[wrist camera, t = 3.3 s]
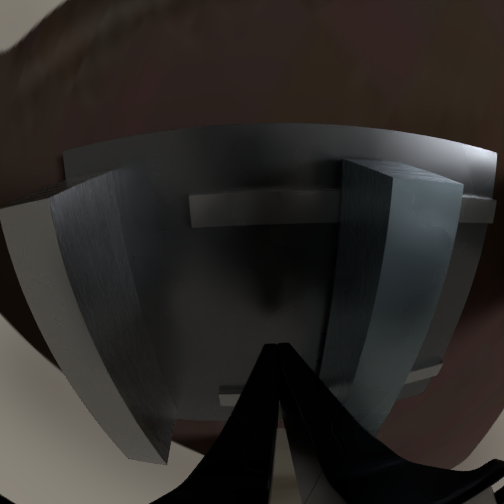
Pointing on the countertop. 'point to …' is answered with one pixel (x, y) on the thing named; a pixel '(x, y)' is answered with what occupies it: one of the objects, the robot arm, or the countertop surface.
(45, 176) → the countertop surface
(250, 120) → the countertop surface
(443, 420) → the countertop surface
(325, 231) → the vise bed
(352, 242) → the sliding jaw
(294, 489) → the ash block
